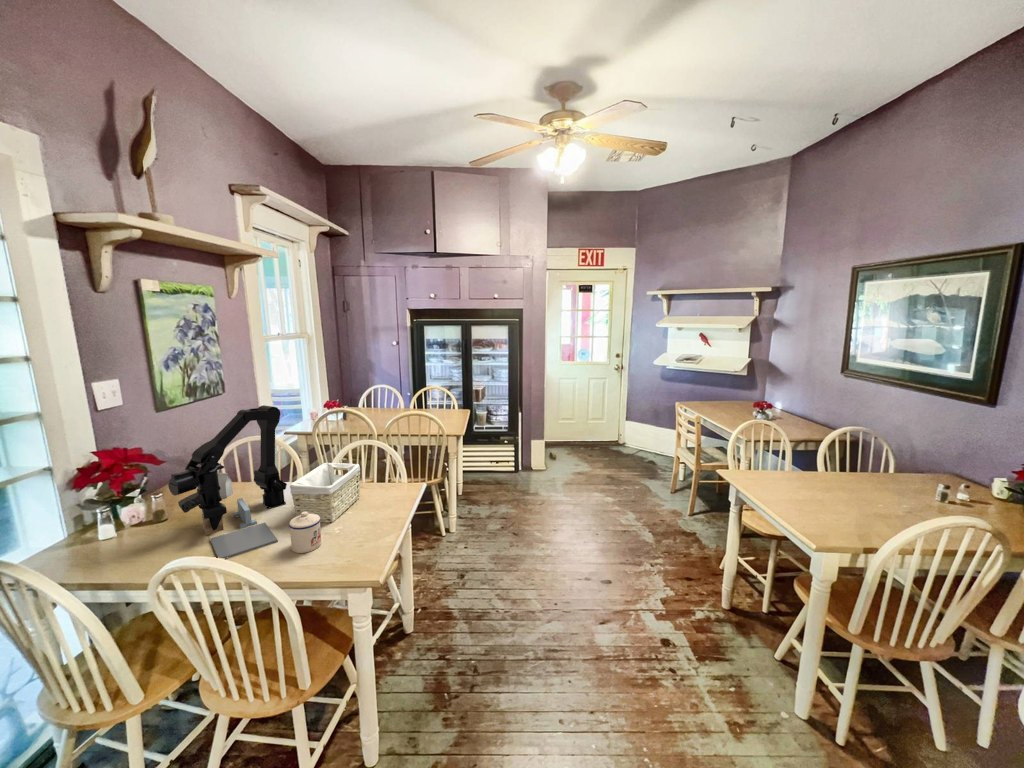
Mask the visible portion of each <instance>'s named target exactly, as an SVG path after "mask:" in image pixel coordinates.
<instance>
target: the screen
mask: <svg viewBox="0 0 1024 768" xmlns="http://www.w3.org/2000/svg"><path fill="white" fill-rule="evenodd" d="M237 509H238V511H236V512H233V513H232V516H233V517H234V518H238V517H239V518H240V519H241V520H242V522H241V523H239V525H238V526H239V528H240V529H244V528H248V527H251V526H254V525H258V521H257V520H256V519H252V516H251V509H250V507H249V506H248V505H247V503H246V502H245V500H244V499H243V497H241V498H237Z"/></svg>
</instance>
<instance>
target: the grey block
mask: <svg viewBox="0 0 1024 768" xmlns="http://www.w3.org/2000/svg"><path fill="white" fill-rule="evenodd" d="M218 479H219V486H220V488H221V490H220V496H221V498H222V499H228V498H230V497H232V496H233V495H232V494H234V492H233V482H232V479H231V478H230V476H229V473H228V472H218ZM229 496H230V497H229ZM227 497H228V498H227Z"/></svg>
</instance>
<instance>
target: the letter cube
mask: <svg viewBox="0 0 1024 768" xmlns="http://www.w3.org/2000/svg"><path fill="white" fill-rule="evenodd" d="M223 520H224V519H223V517H222V518H221V520H220V523H219V525H218V527H217V529H216V530H213V529H212V526H211V524H210V521H209V519H204V517H203V515H202V525H203V531H204V533H205V536H207V534H208V535H210V534H215V533H217V532H221V531H224V529H225V528H224V521H223Z"/></svg>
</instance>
